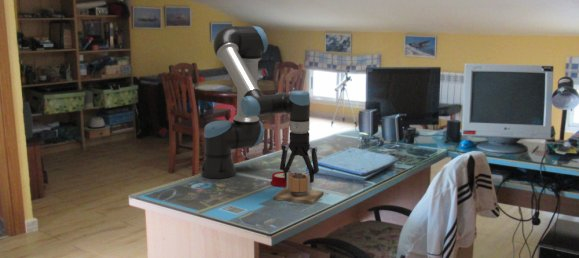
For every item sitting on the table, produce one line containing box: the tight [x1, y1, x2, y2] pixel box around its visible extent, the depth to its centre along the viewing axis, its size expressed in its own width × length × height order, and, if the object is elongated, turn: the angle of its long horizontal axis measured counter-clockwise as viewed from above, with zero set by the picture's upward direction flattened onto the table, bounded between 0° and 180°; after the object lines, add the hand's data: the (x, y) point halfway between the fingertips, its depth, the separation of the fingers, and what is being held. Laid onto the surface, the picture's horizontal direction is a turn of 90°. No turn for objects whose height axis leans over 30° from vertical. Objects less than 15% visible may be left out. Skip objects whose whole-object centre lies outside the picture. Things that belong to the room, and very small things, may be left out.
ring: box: [289, 173, 308, 192], centre depth 223 cm, size 8×8×5 cm
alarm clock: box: [267, 170, 297, 188], centre depth 243 cm, size 10×6×15 cm
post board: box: [273, 172, 325, 205], centre depth 224 cm, size 16×13×9 cm
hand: (299, 189), depth 224 cm, fingers closed on ring, 8 cm apart
